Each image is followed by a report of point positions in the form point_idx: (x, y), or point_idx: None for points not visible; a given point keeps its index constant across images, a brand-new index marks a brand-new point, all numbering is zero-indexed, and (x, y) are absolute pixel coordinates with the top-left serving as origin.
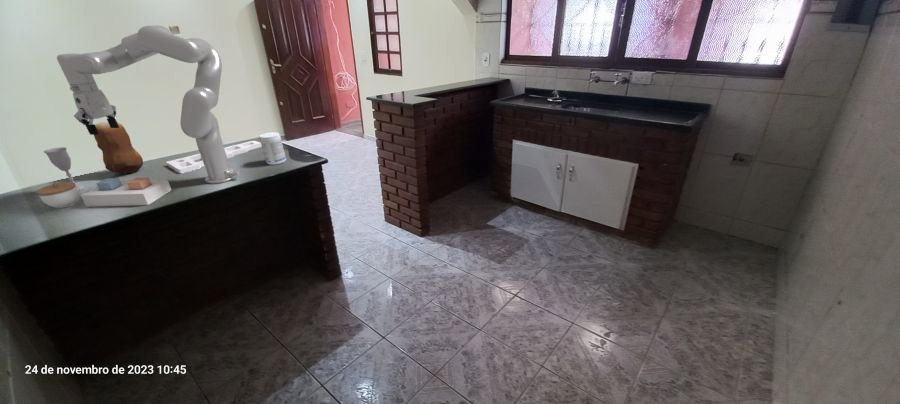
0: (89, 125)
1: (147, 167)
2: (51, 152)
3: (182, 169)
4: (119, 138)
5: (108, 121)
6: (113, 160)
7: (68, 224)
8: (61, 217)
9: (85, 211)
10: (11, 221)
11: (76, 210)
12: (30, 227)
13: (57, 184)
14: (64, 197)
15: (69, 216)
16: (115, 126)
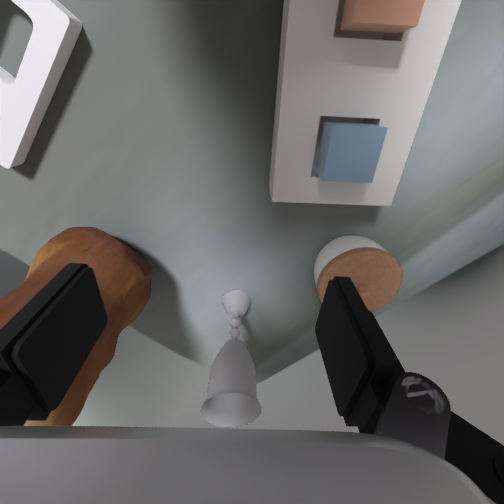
0: (408, 381)
1: (60, 229)
2: (259, 403)
3: (58, 7)
4: None
5: (70, 377)
6: (137, 283)
7: (499, 150)
8: (431, 206)
9: (412, 169)
10: (405, 295)
11: (393, 201)
12: (465, 235)
13: None
14: (380, 245)
15: (433, 189)
16: (88, 288)
